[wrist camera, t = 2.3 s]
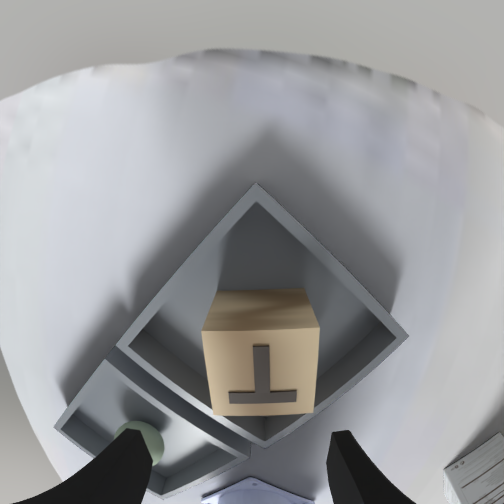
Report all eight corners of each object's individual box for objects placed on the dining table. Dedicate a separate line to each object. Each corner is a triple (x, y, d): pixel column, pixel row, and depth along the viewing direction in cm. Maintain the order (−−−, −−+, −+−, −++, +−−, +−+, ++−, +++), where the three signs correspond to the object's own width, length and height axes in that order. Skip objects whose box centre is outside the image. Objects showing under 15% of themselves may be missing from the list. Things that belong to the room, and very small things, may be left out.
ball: (179, 432, 20) (167, 468, 16) (154, 449, 21) (141, 482, 17) (137, 403, 20) (119, 438, 16) (116, 423, 20) (98, 455, 16)
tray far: (251, 429, 21) (250, 457, 18) (169, 477, 23) (163, 499, 20) (122, 336, 19) (104, 358, 16) (67, 407, 21) (53, 427, 18)
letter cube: (304, 287, 17) (320, 328, 12) (302, 360, 18) (313, 414, 13) (216, 290, 17) (200, 332, 12) (223, 363, 18) (213, 416, 13)
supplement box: (494, 459, 23) (533, 523, 9) (442, 492, 24) (474, 565, 10) (501, 429, 22) (553, 502, 7) (442, 468, 23) (484, 555, 8)
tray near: (390, 315, 18) (409, 336, 15) (264, 420, 20) (264, 449, 17) (256, 182, 17) (255, 182, 14) (133, 323, 19) (115, 345, 16)
